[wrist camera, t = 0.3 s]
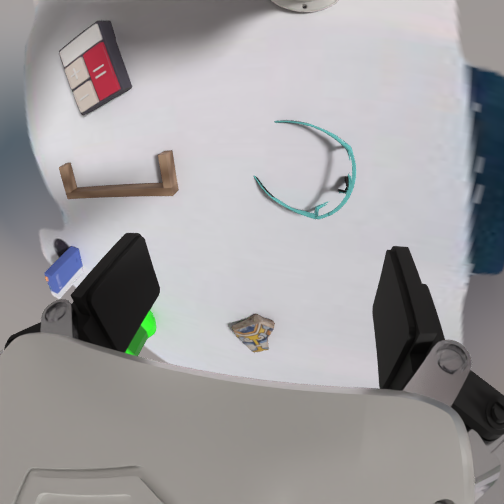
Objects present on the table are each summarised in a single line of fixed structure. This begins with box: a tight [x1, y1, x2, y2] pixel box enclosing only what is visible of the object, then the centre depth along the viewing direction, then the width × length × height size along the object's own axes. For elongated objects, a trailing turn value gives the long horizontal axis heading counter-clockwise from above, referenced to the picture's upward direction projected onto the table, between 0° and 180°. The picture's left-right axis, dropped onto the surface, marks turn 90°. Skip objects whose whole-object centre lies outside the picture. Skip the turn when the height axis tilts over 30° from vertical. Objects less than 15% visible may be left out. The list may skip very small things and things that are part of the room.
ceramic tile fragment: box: [232, 314, 275, 352], centre depth 67 cm, size 12×3×10 cm
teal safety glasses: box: [254, 120, 356, 219], centre depth 43 cm, size 14×15×5 cm
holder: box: [59, 150, 178, 199], centre depth 50 cm, size 8×27×2 cm, turn 93°
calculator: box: [59, 21, 132, 115], centre depth 38 cm, size 11×4×15 cm
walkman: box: [45, 246, 84, 299], centre depth 63 cm, size 8×3×12 cm, turn 170°
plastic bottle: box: [125, 311, 156, 356], centre depth 64 cm, size 10×10×25 cm
